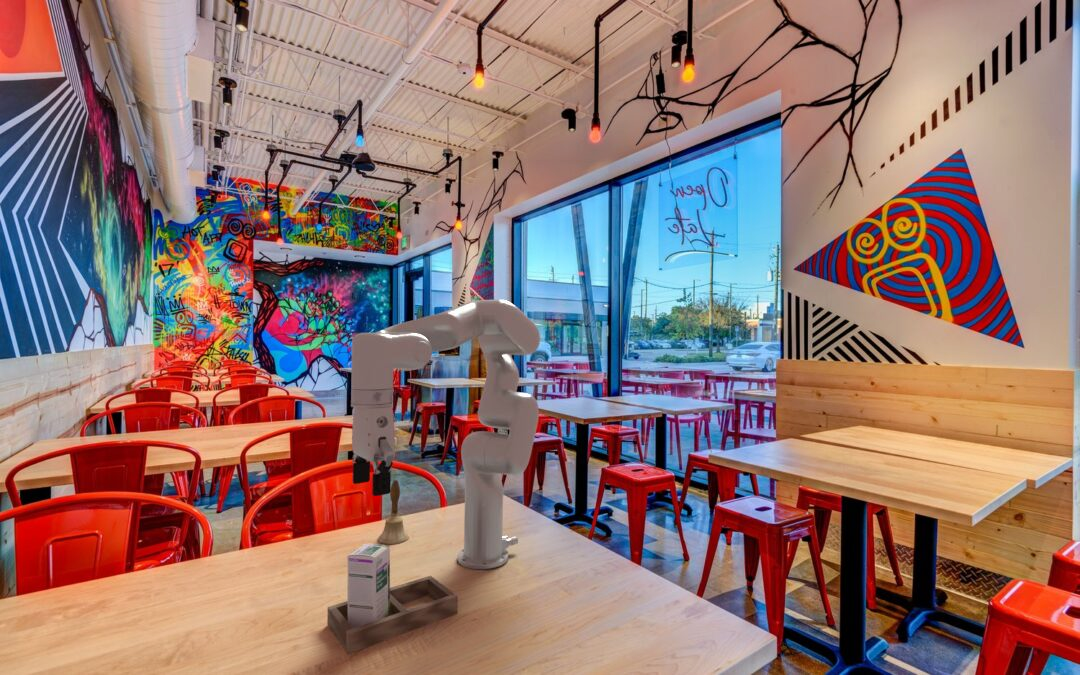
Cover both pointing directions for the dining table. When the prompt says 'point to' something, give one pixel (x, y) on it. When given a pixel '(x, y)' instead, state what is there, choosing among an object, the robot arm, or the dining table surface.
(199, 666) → the dining table surface
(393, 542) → the hand bell
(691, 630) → the dining table surface
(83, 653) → the dining table surface
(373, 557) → the syrup box
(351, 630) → the rack
